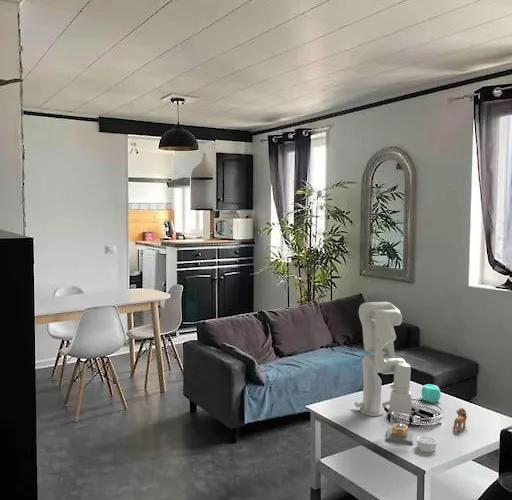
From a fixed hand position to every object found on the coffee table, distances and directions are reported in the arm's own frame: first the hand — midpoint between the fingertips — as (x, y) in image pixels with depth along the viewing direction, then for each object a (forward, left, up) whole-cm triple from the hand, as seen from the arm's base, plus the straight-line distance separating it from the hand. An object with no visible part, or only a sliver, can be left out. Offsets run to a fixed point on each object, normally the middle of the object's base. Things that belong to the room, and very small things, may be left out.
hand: (399, 422), depth 258 cm
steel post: (0, -1, -6) cm, 6 cm away
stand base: (0, -1, -7) cm, 7 cm away
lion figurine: (+29, +20, -7) cm, 36 cm away
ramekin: (+13, -9, -7) cm, 17 cm away
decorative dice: (+15, +57, -7) cm, 60 cm away
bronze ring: (0, -1, -6) cm, 6 cm away
